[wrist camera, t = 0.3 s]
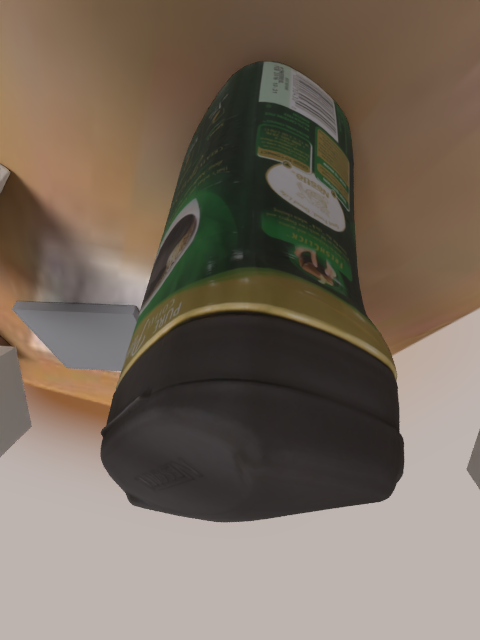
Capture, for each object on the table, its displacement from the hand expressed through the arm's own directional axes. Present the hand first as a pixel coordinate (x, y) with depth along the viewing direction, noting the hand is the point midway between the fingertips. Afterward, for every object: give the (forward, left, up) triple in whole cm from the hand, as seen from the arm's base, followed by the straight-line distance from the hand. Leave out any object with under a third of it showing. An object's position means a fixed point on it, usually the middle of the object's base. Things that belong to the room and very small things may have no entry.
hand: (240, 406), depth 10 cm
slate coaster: (+23, -18, -16) cm, 33 cm away
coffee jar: (+2, 0, -16) cm, 16 cm away
